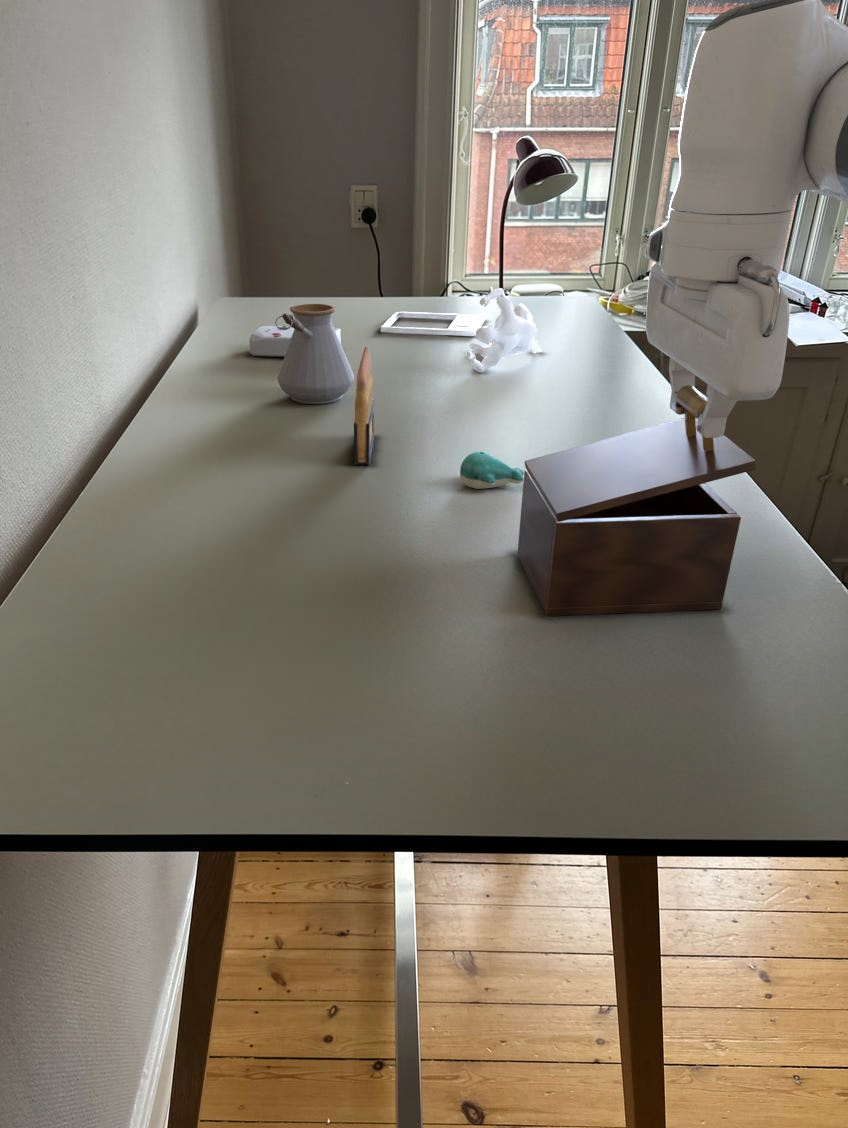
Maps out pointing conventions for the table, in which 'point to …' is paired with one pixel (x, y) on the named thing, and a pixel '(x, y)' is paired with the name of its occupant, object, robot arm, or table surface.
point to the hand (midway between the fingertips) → (694, 423)
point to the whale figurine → (487, 471)
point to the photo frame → (459, 326)
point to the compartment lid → (637, 464)
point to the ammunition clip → (364, 412)
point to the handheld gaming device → (273, 340)
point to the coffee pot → (314, 357)
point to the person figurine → (504, 333)
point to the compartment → (630, 553)
